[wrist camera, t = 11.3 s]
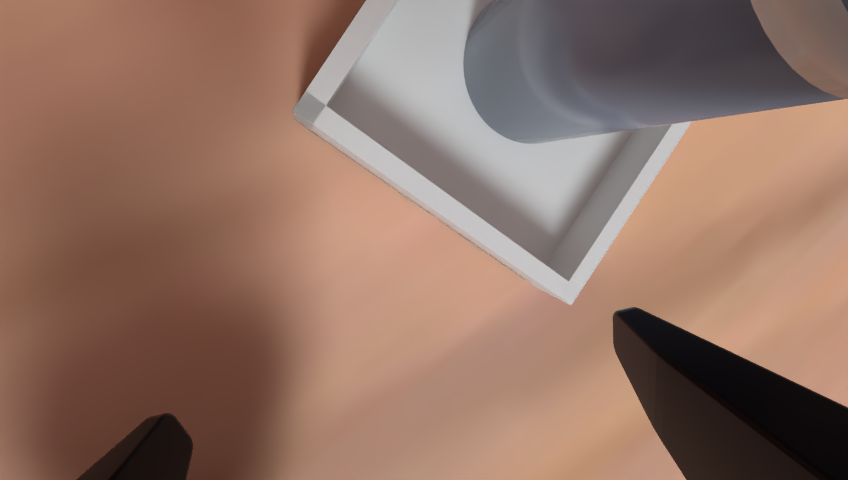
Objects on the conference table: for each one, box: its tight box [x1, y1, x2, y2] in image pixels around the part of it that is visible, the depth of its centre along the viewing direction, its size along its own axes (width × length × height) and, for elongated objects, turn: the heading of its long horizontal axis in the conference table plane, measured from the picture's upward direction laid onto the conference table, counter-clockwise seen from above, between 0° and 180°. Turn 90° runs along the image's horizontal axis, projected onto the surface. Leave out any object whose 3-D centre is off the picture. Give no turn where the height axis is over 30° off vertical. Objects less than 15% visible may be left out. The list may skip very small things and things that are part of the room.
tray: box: [293, 0, 692, 305], centre depth 18 cm, size 16×14×3 cm
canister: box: [463, 0, 848, 144], centre depth 12 cm, size 7×7×13 cm
